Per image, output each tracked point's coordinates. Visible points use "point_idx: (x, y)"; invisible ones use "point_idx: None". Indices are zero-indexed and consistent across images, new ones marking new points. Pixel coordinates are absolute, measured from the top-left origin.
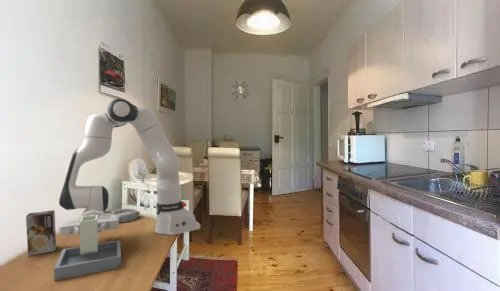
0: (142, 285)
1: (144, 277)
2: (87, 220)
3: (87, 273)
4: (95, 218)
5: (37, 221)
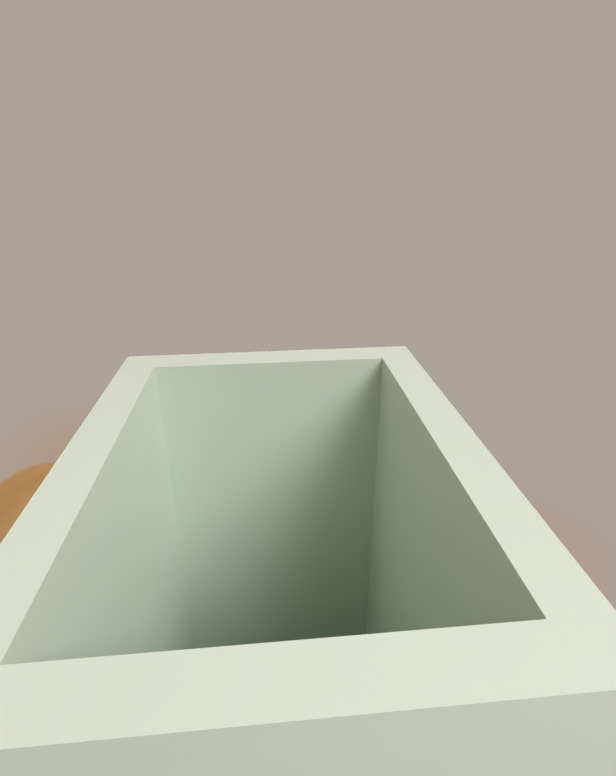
0: (51, 465)
1: (3, 511)
2: (286, 358)
3: None
4: (131, 405)
5: None
